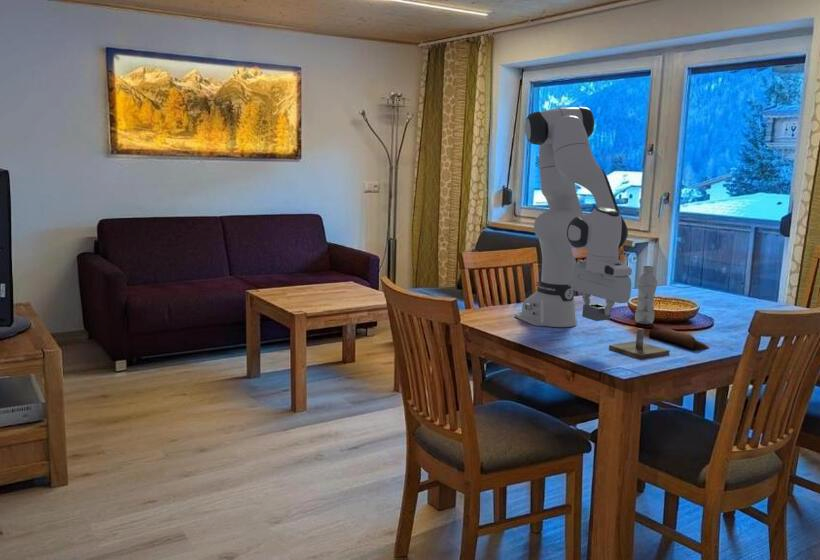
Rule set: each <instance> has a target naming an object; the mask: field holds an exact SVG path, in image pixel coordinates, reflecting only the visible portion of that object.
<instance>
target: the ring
mask: <svg viewBox="0 0 820 560" xmlns="http://www.w3.org/2000/svg"><path fill="white" fill-rule="evenodd" d="M584 304H585V303H584ZM584 304H582V305H583V306H582V313H581V314H582V316H581V317H582V318H585V319H588V320H592V321H595V322H600V321H608V320H611V315H612V308H611V309H610V314H609V315H604V314H602V308H605V307H606V305H604V304H601V303H598V302H595V303H592V304H585V305H584Z"/></svg>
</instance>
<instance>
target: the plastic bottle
mask: <svg viewBox="0 0 820 560" xmlns="http://www.w3.org/2000/svg"><path fill="white" fill-rule="evenodd" d="M654 273H655V266H651V265H643V267H642V274H641V275H640V276H639V278H638V280H637V291H638V292H637V294H638V295H637V296H638V297H637V305H636V310H635V313H634V321H635V322H636V324H640V325H644V324H645V325H652V324H653V322H654V321H655V311H654V310H655V309H654V307H655V303H654V302H655V296H656V290H657V285H658V280H657V278H656V276H655V274H654Z"/></svg>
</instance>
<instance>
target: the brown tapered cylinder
mask: <svg viewBox="0 0 820 560" xmlns="http://www.w3.org/2000/svg"><path fill="white" fill-rule="evenodd" d="M648 337H649V338H653V339H659V340H664V341H666V342H669V343H673V344H676V345H679V346H682V347H685V348H689V349H691V350H693V351H694V352H698V351H704V350H709V349H710V350H711V347H709V345H707V344H705V342H701V341H700V340H697V339H696V338H695V337H694V336H693V335H691V334H689V333H684V332H680V331H676V330H674V329H671V328H668V327H667V328H666V327H659V326H658V327H652V328H651V329H650V331H649V332H648Z"/></svg>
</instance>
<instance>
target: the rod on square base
mask: <svg viewBox="0 0 820 560" xmlns="http://www.w3.org/2000/svg"><path fill="white" fill-rule="evenodd" d="M644 334H645V329H644V328H639V327H638V328H636V338H635V340H634V341H628V342H623V343H622V342H620V343H613V344H609V345H608V349H609V350H610V351H614V352H617V353H620V354H624V355H626V356H629V357H633V358H635V359H639V360H645V359H651V358H655V357H662V356H667V355H670V350H669V349H666V348H662V347H660V346H656V345H653V344H649V343H646V342H644V338H645V337H644V336H645V335H644Z"/></svg>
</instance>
